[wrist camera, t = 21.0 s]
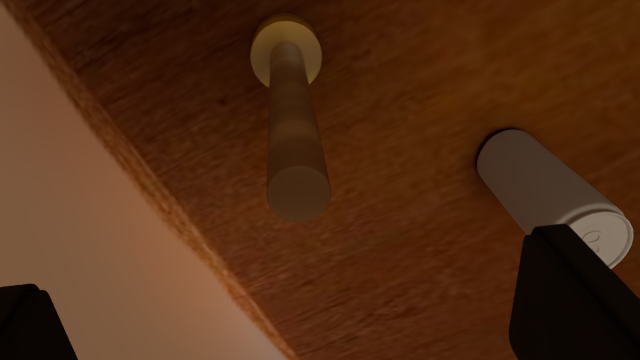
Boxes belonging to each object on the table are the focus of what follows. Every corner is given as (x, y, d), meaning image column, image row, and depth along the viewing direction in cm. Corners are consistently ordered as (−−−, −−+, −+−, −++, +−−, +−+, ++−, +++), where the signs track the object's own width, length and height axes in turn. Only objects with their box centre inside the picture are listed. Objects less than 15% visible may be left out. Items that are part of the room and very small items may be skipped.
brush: (247, 15, 32) (215, 136, 14) (315, 9, 32) (368, 121, 14) (256, 81, 34) (237, 260, 16) (320, 76, 34) (371, 245, 16)
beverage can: (476, 189, 39) (551, 289, 29) (470, 135, 37) (549, 222, 26) (536, 174, 39) (633, 269, 28) (533, 119, 37) (639, 200, 26)
